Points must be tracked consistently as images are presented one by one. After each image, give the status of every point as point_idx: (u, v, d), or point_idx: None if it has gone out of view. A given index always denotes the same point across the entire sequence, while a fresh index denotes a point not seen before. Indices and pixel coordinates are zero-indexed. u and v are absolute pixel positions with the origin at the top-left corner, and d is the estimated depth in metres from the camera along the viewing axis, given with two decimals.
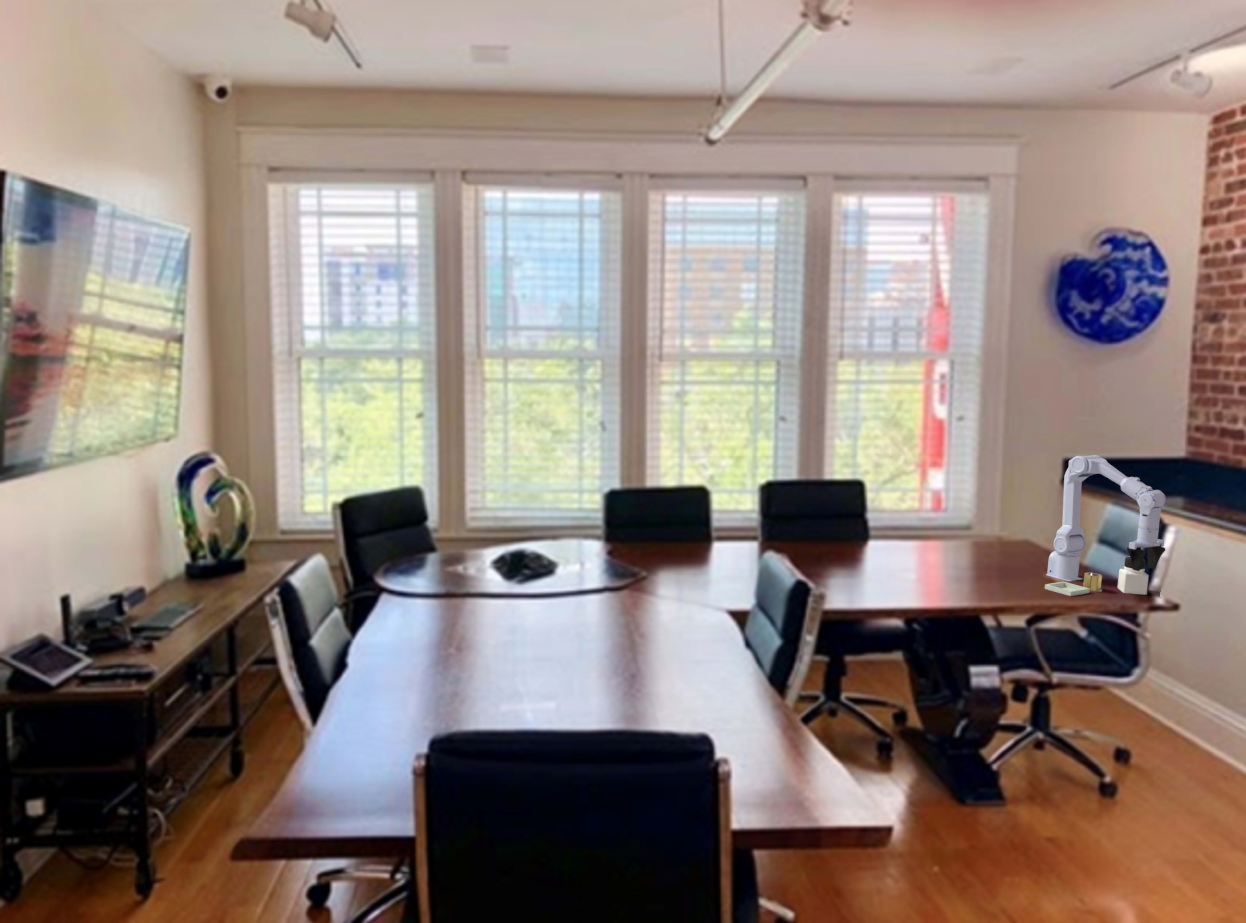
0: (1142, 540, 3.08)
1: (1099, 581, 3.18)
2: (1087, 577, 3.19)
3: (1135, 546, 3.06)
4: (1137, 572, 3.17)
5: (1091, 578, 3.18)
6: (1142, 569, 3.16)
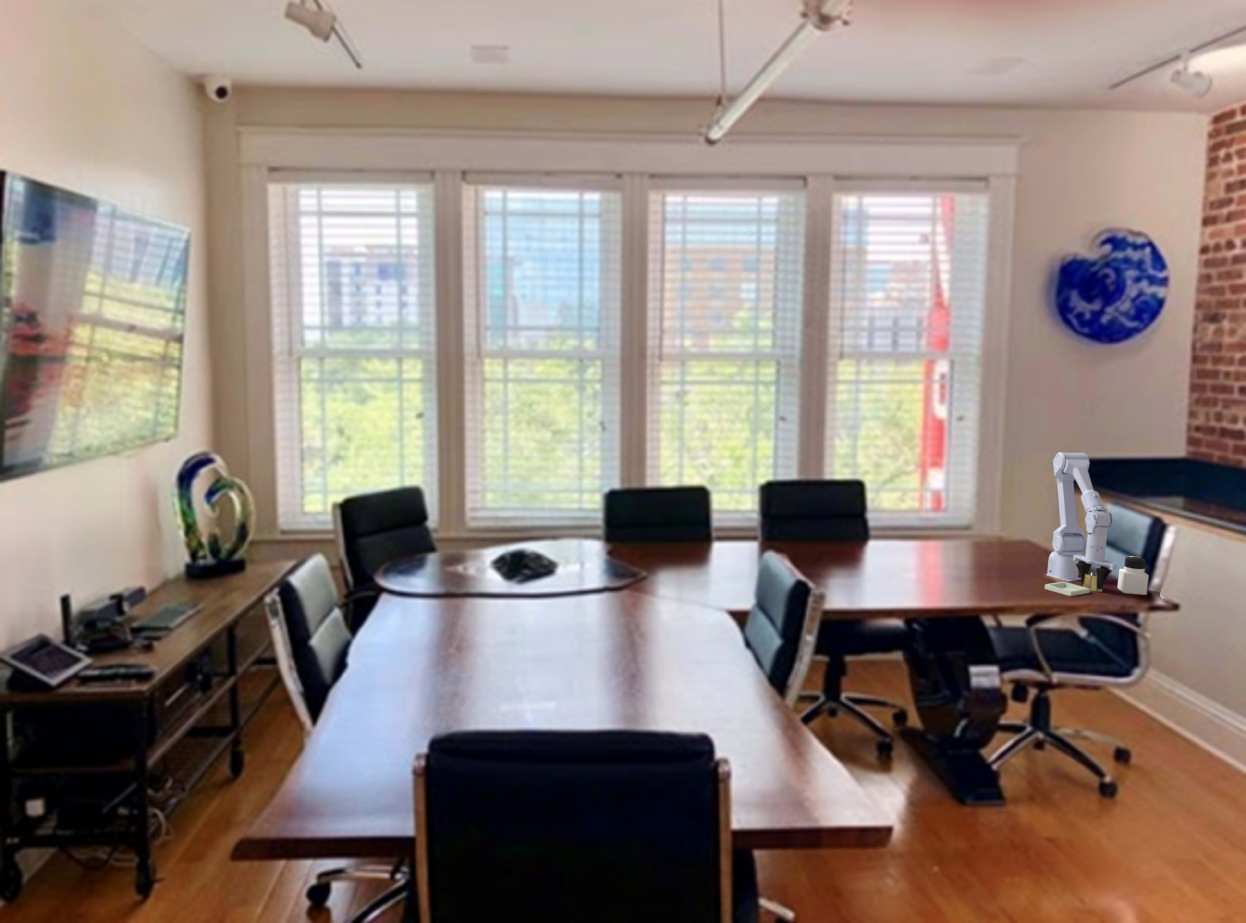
0: None
1: None
2: (1087, 577, 3.19)
3: (1074, 557, 3.25)
4: (1137, 572, 3.17)
5: (1091, 578, 3.18)
6: (1142, 569, 3.16)
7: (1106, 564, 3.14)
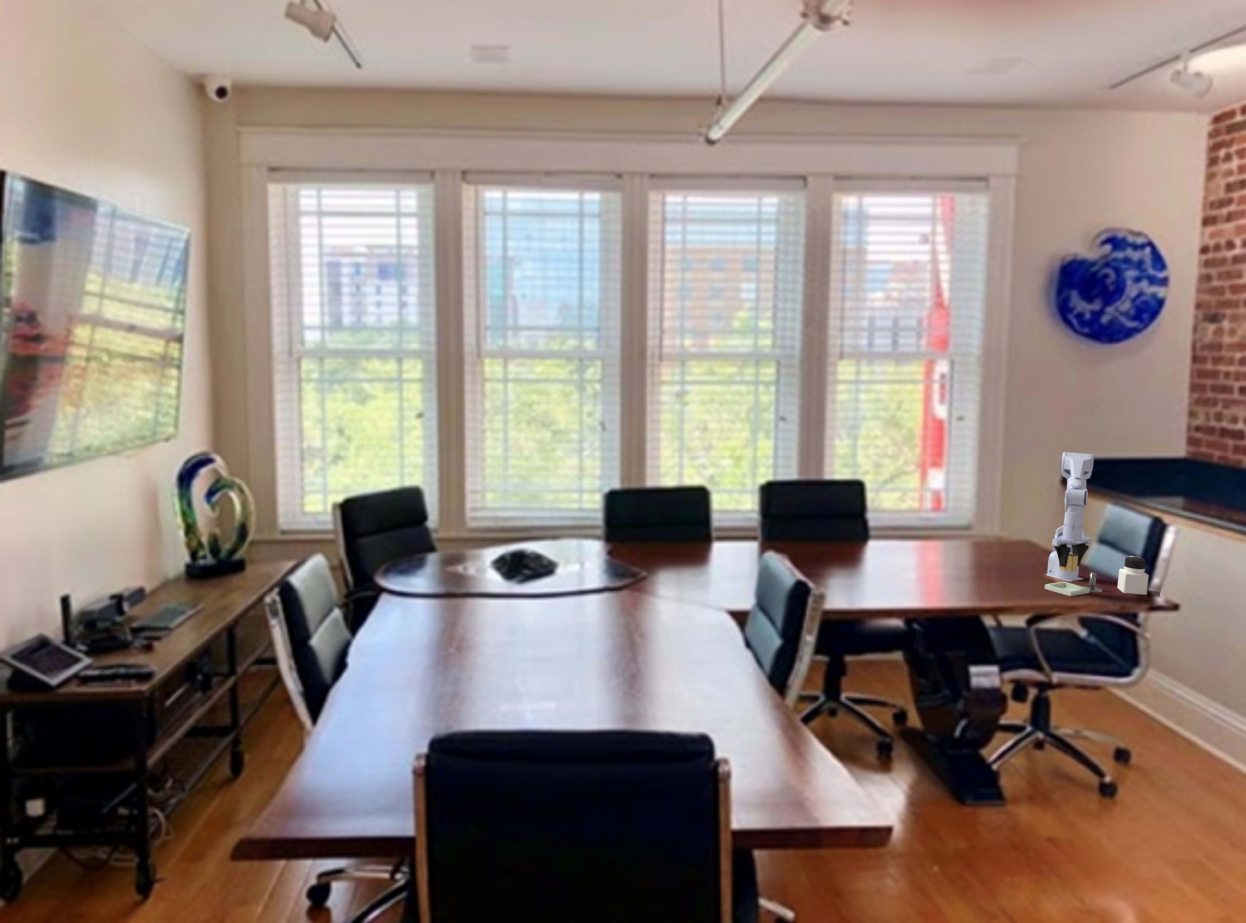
0: (1066, 537, 3.14)
1: None
2: (1074, 558, 3.14)
3: (1057, 543, 3.12)
4: (1137, 572, 3.17)
5: (1077, 558, 3.15)
6: (1142, 569, 3.16)
7: (1087, 539, 3.16)
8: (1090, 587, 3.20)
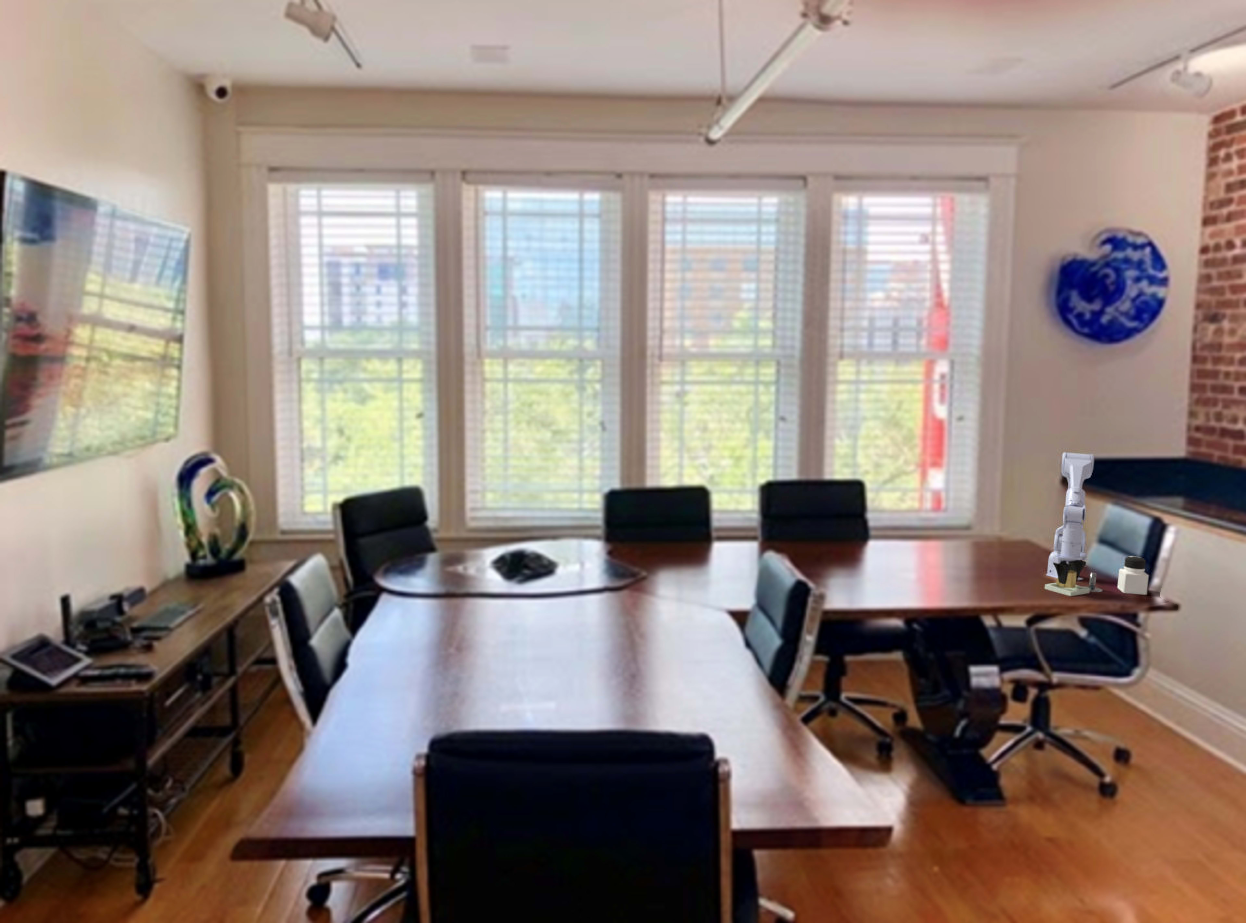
0: (1065, 554, 3.14)
1: None
2: (1073, 575, 3.15)
3: (1059, 560, 3.12)
4: (1137, 572, 3.17)
5: None
6: (1142, 569, 3.16)
7: (1084, 555, 3.18)
8: (1090, 587, 3.20)
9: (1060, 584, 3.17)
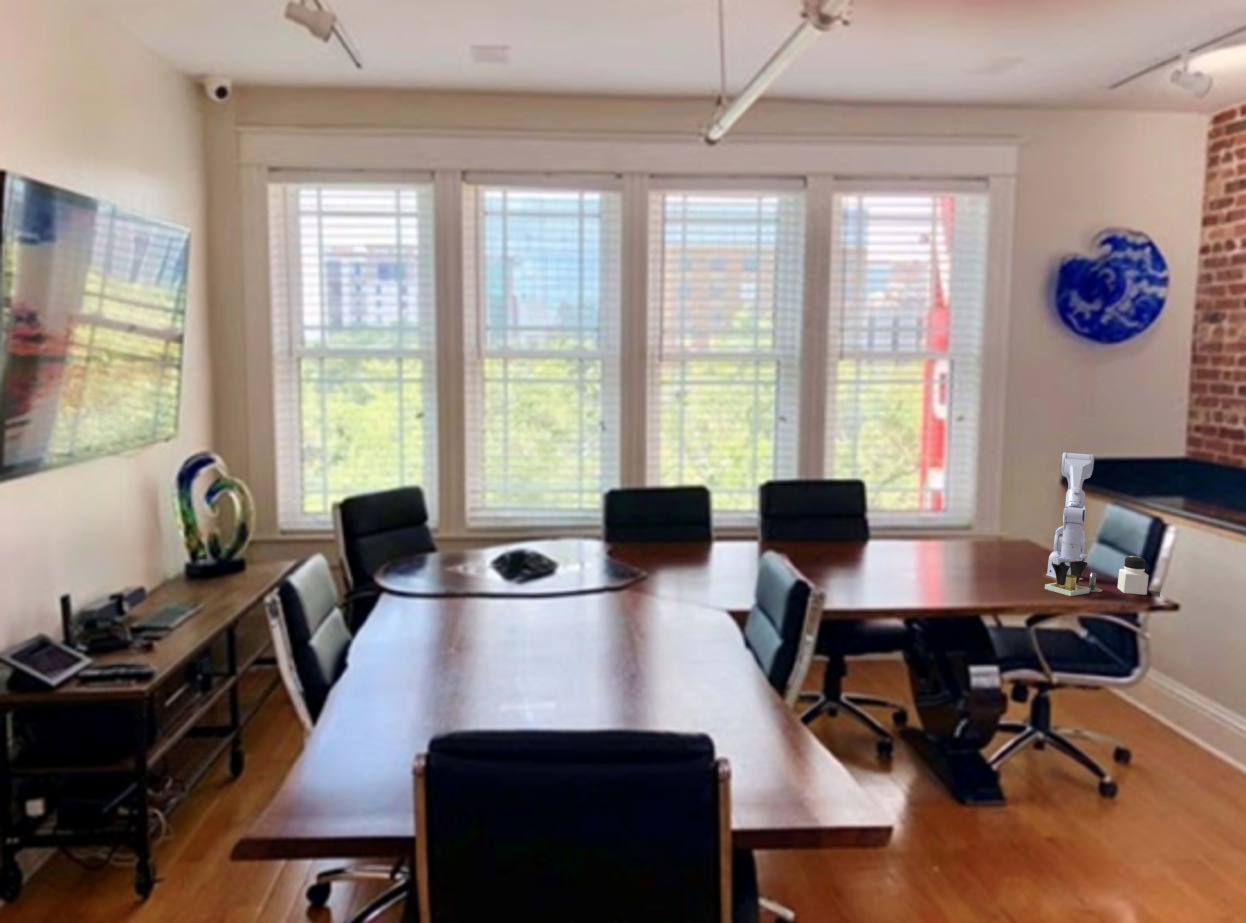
0: (1065, 555, 3.14)
1: None
2: (1073, 580, 3.15)
3: (1058, 561, 3.12)
4: (1137, 572, 3.17)
5: None
6: (1142, 569, 3.16)
7: (1084, 556, 3.18)
8: (1090, 587, 3.20)
9: None
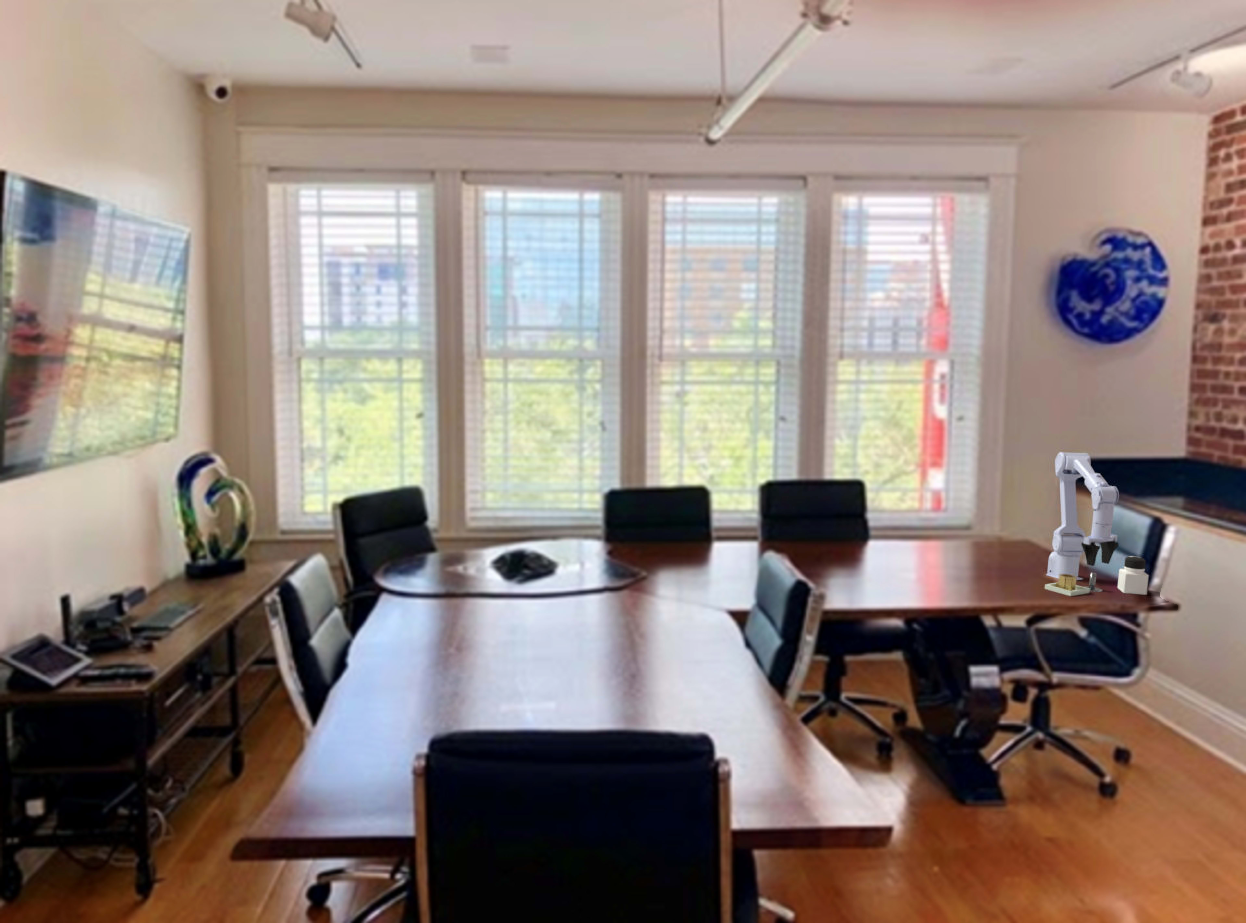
0: (1096, 535, 3.11)
1: None
2: (1073, 580, 3.15)
3: (1089, 541, 3.09)
4: (1137, 572, 3.17)
5: None
6: (1142, 569, 3.16)
7: (1114, 537, 3.14)
8: (1090, 587, 3.20)
9: None
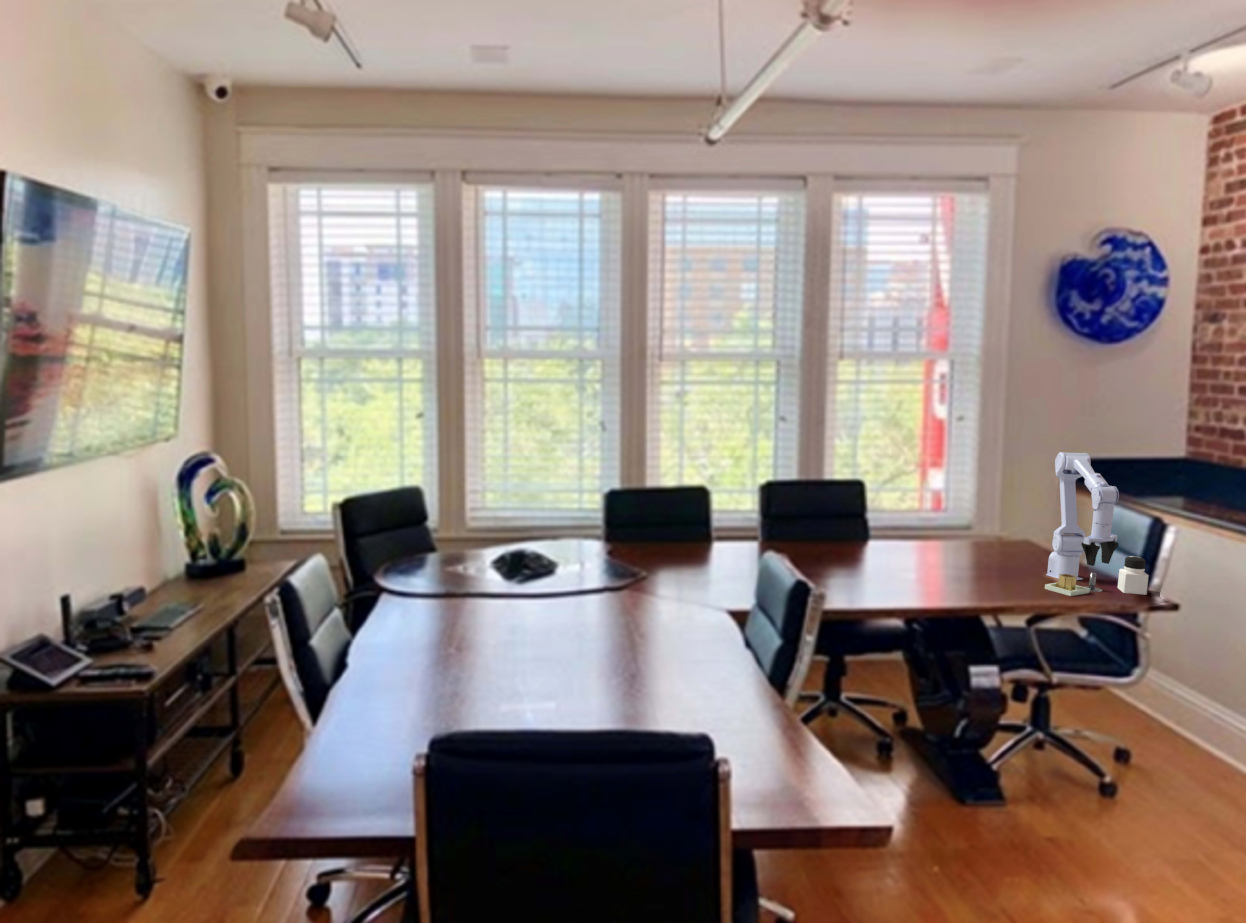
0: (1096, 535, 3.11)
1: None
2: (1073, 580, 3.15)
3: (1089, 541, 3.09)
4: (1137, 572, 3.17)
5: None
6: (1142, 569, 3.16)
7: (1114, 537, 3.14)
8: (1090, 587, 3.20)
9: None
